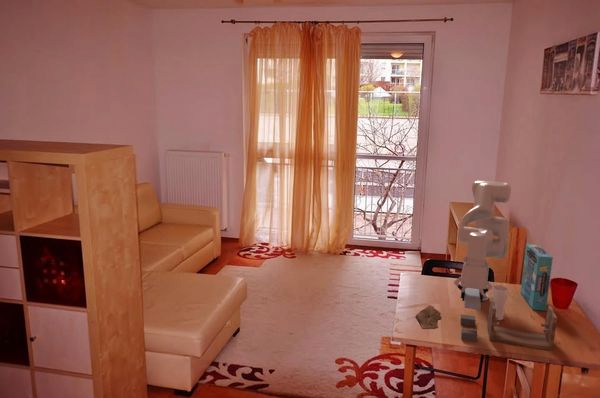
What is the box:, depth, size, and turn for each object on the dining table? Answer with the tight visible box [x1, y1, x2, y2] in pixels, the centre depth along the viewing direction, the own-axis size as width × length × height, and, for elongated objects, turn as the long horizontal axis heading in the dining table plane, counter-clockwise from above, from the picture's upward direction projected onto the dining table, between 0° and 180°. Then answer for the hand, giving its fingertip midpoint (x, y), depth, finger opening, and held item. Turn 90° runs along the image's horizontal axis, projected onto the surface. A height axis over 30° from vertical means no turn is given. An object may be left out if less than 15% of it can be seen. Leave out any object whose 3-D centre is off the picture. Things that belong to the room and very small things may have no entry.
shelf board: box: [463, 288, 482, 311], centre depth 197 cm, size 20×6×2 cm, turn 162°
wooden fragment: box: [415, 304, 442, 330], centre depth 211 cm, size 26×11×1 cm, turn 155°
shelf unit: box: [486, 297, 558, 351], centre depth 192 cm, size 12×24×14 cm, turn 72°
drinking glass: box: [490, 284, 509, 321], centre depth 210 cm, size 7×7×15 cm
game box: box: [520, 243, 553, 312], centre depth 227 cm, size 20×6×27 cm, turn 170°
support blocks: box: [460, 313, 478, 342], centre depth 199 cm, size 18×6×3 cm, turn 162°
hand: (471, 300), depth 197 cm, fingers closed on shelf board, 6 cm apart
